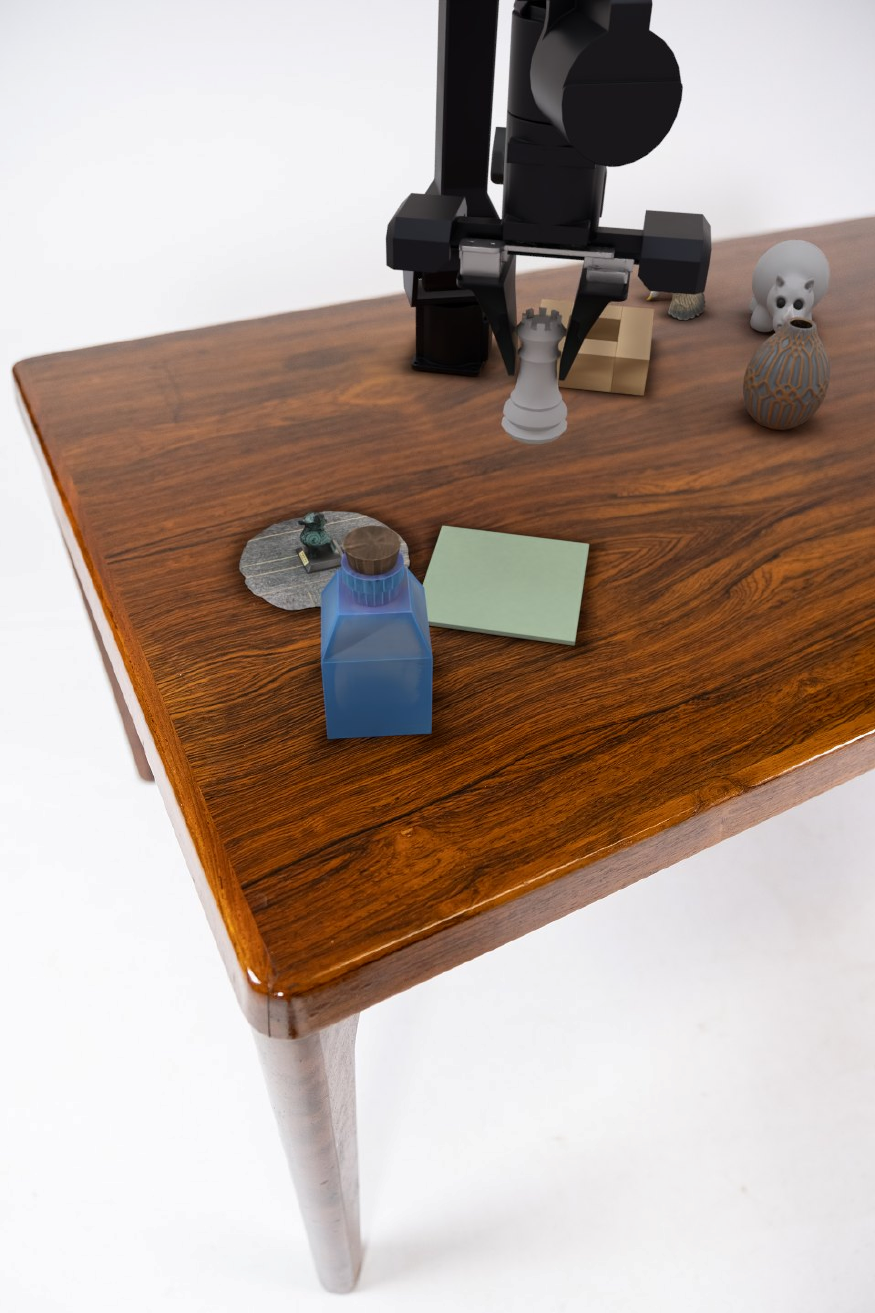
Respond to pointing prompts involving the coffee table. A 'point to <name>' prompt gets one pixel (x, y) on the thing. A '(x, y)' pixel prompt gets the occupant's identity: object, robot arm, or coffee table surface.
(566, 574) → the mat
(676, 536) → the coffee table surface
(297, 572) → the sculpture
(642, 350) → the socket block
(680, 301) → the eagle figurine
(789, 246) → the round bodied animal figurine
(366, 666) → the perfume bottle
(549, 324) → the rook chess piece
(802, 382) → the vase
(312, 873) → the coffee table surface
